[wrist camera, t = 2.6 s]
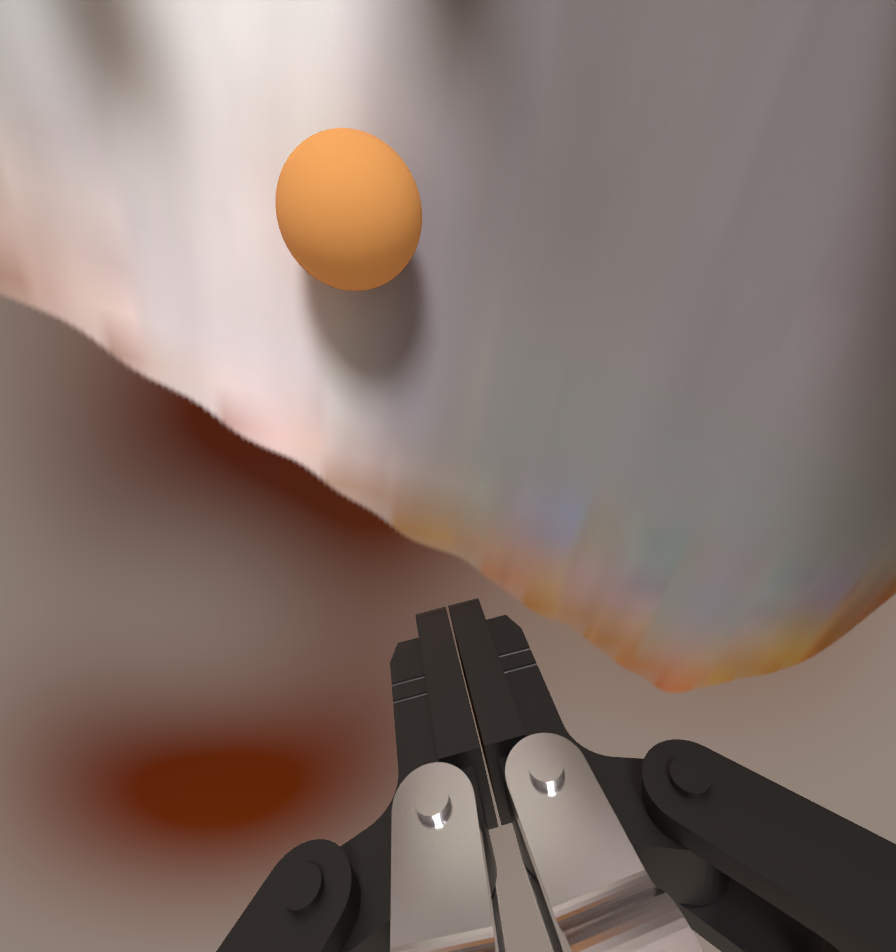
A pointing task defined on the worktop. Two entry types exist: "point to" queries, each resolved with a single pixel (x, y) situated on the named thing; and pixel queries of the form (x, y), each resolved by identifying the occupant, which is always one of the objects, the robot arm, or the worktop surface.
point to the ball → (348, 209)
